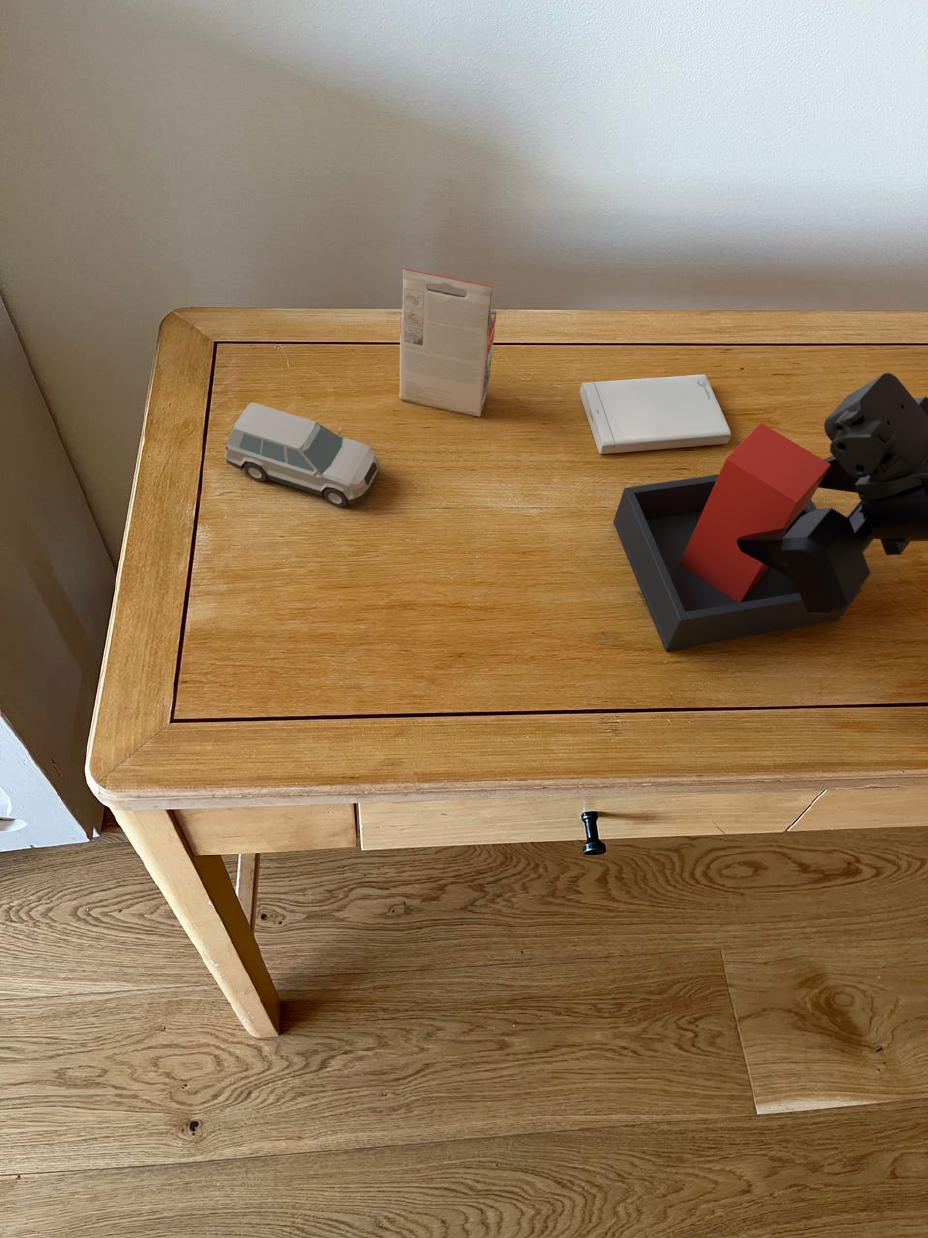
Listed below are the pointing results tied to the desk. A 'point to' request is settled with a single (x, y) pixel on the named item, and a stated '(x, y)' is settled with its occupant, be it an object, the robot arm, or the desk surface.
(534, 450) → the desk surface
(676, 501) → the dark gray tray
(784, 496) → the package
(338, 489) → the toy car
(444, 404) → the ink box
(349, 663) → the desk surface
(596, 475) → the desk surface
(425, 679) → the desk surface
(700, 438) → the hard drive
